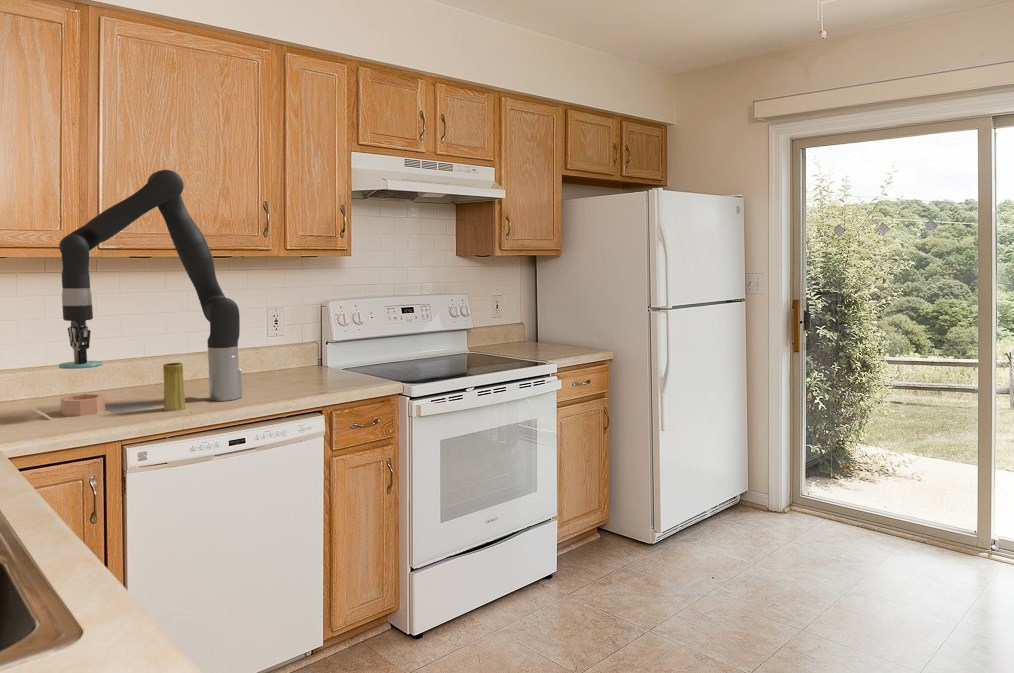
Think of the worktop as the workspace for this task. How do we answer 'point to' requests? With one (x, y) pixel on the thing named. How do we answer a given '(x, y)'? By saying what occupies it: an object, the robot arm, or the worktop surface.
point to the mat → (128, 406)
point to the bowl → (82, 404)
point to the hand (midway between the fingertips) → (80, 362)
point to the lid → (77, 365)
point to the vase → (173, 387)
